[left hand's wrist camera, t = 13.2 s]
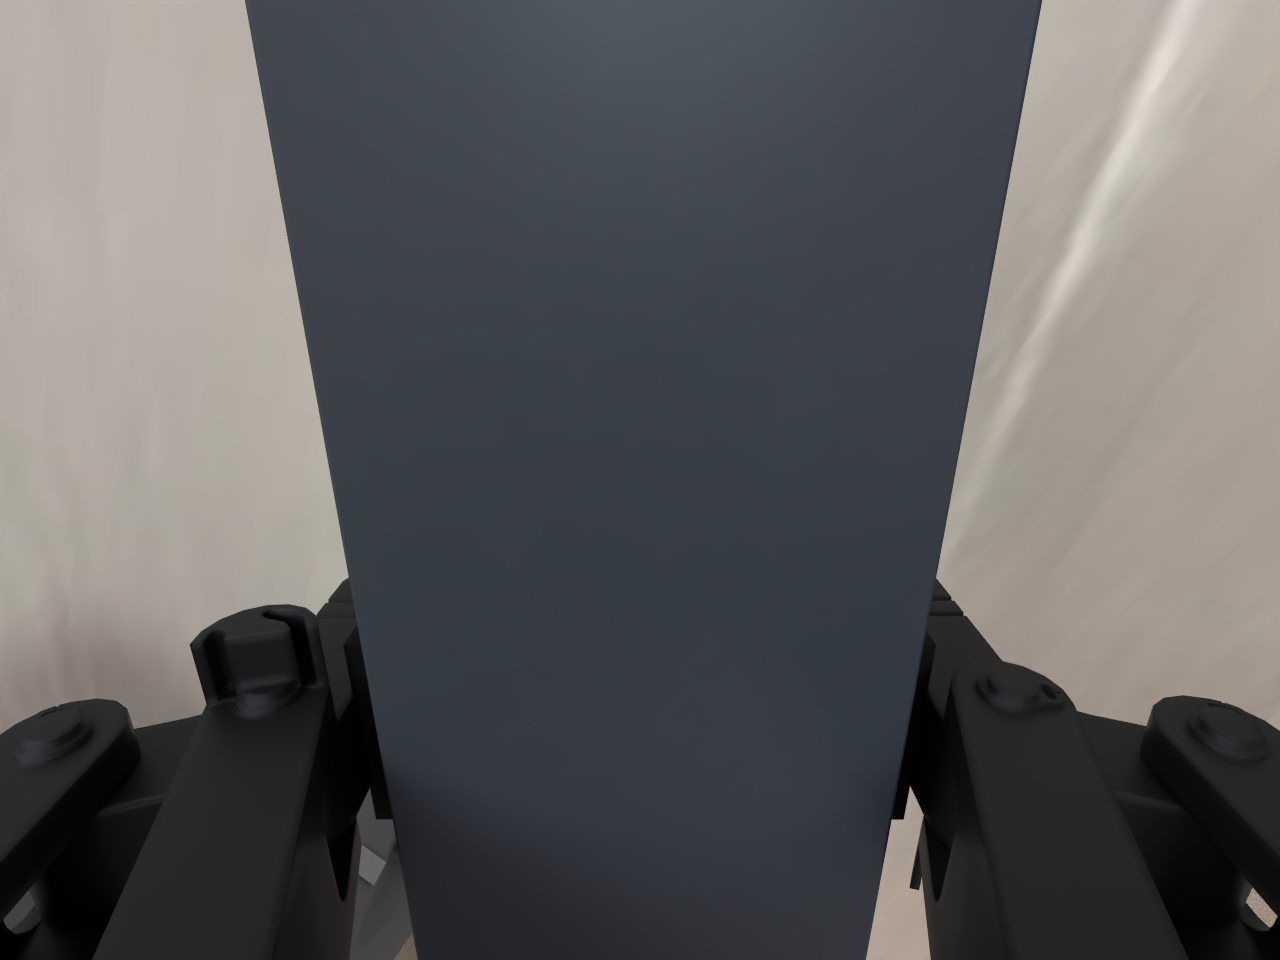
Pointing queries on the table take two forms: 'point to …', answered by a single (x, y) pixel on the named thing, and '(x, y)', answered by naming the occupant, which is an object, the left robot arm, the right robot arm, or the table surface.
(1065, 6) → the table surface
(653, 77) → the bar
